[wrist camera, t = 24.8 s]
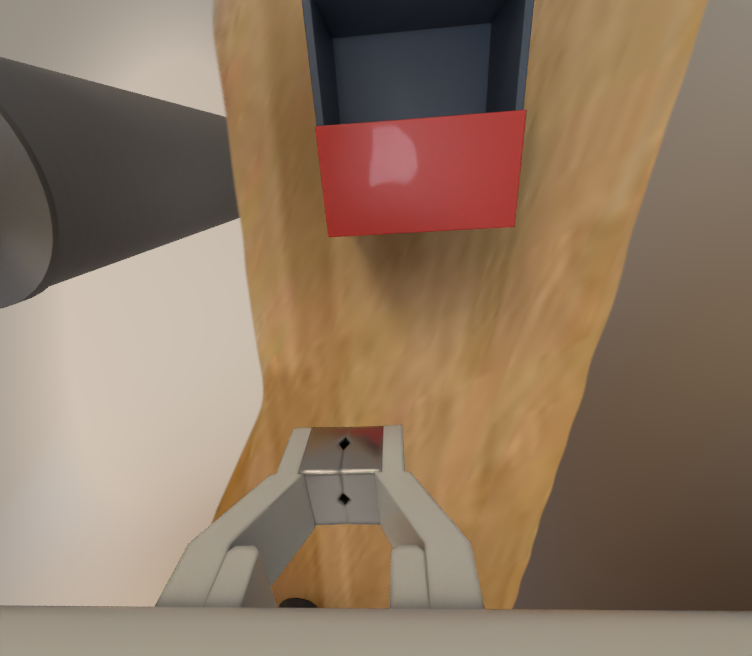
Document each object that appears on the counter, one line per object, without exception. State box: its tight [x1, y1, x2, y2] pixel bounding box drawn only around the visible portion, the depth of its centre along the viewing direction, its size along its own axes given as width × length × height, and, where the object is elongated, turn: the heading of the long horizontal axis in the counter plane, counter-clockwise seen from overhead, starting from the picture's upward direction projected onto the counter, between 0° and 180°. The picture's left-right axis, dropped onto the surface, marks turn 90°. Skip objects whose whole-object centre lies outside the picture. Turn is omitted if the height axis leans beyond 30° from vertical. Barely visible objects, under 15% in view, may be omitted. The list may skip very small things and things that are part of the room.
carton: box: [302, 0, 534, 126], centre depth 26 cm, size 14×13×8 cm
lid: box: [315, 110, 526, 237], centre depth 23 cm, size 7×13×1 cm, turn 94°
